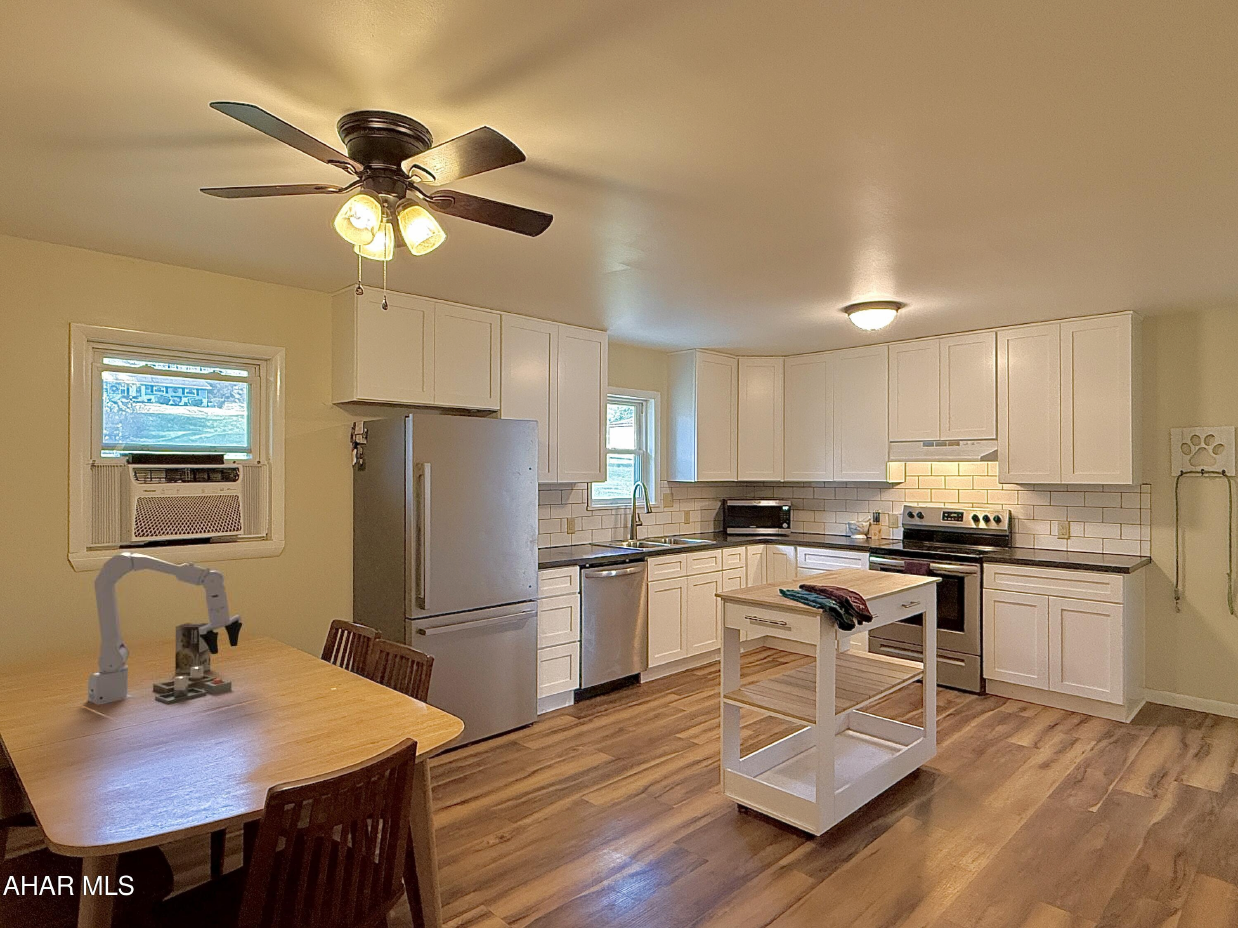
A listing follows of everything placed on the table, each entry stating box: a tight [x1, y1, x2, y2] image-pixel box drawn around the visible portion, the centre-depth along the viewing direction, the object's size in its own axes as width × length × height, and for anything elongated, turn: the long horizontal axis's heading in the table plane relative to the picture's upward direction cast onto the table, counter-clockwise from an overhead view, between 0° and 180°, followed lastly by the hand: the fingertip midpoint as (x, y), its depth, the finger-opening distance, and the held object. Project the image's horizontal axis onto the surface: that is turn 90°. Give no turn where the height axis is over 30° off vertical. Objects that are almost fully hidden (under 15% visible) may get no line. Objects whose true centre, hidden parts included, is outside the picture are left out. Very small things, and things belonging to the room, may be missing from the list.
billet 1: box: [173, 675, 189, 699], centre depth 222 cm, size 4×4×6 cm
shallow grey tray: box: [154, 688, 207, 705], centre depth 222 cm, size 11×8×2 cm
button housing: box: [203, 678, 233, 695], centre depth 229 cm, size 6×6×3 cm
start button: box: [214, 678, 223, 684], centre depth 229 cm, size 2×2×2 cm
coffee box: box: [174, 622, 211, 674], centre depth 254 cm, size 9×6×16 cm
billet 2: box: [189, 666, 204, 682], centre depth 235 cm, size 4×4×6 cm
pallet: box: [152, 673, 218, 695], centre depth 232 cm, size 15×9×2 cm, turn 146°
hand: (224, 649), depth 233 cm, fingers open, 7 cm apart
